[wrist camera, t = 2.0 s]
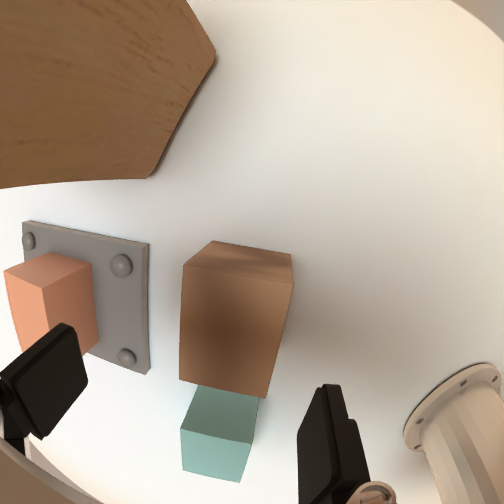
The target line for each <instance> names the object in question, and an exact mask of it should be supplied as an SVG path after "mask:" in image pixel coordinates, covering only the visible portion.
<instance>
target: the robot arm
mask: <svg viewBox="0 0 504 504" xmlns="http://www.w3.org/2000/svg"><path fill="white" fill-rule="evenodd" d="M0 377H1V379H0V504H103V503H100V502H98V501H96V500H94V499H92V498H90V497H88V496H86V495H84V494H83V493H80V492H79V491H77V490H75V489H74V488H72V487H70V486H68V485H67V484H65V483H63V482H61V481H60V480H58V479H57V478H55V477H54V476H52V475H51V474H49V473H48V472H46V471H45V470H43V469H42V468H40V467H39V466H37V465H36V464H35V463H33V462H32V461H31V454H30V446H29V436H28V435H29V434H30V432H31V433H32V434H33V435H34V436H35V437H37V438H38V439H40V440H41V441H42V439H43V438H44V437H46V436H48V435H49V434H50V433H51V431H52V430H53V429H54V427H55V426H56V425H57V423H58V422H59V421H60V420H61V418H62V417H63V416H64V414H65V413H66V412H67V410H68V409H69V408H70V407H71V405H72V404H73V403H74V402H75V400H76V399H77V398H78V397H79V395H80V394H81V393H82V392H83V390H84V389H85V388H86V386H87V384H88V378H87V374H86V370H85V367H84V363H83V359H82V354H81V350H80V345H79V341H78V336H77V333H76V332H75V329H74V327H72V326H70V325H67V324H65V323H63V322H61V323H59V324H58V325H56V326H55V327H54V328H52V329H51V330H50V331H49V332H47V333H46V334H45V335H44V336H43V337H41V338H40V339H39V340H38V341H36V342H35V343H34V344H33V345H32V346H30V347H29V348H28V349H27V350H26V351H24V352H23V353H22V354H21V355H20V356H18V357H17V358H16V359H15V360H14V361H13V362H12V363H10V364H9V365H8V366H7V367H6V368H5V369H4V370H2V371H1V372H0ZM500 386H501V376H500V373H499V372H498V370H497V369H496V368H495V367H494V366H493V365H490V364H478V365H475V366H472V367H469V368H467V369H465V370H463V371H461V372H459V373H458V374H456V375H454V376H453V377H451V378H450V379H448V380H447V381H446V382H444V383H443V384H441V385H440V386H439V387H438V388H437V389H435V390H434V391H433V392H432V393H431V394H430V395H429V396H428V397H427V398H426V399H425V400H424V401H423V402H422V403H421V404H420V405H419V406H418V407H417V408H416V410H415V411H414V413H413V414H412V415H411V417H410V418H409V420H408V422H407V424H406V426H405V429H404V440H405V443H406V445H407V447H408V448H409V449H411V450H413V451H419V452H421V451H424V452H425V454H426V457H427V459H428V462H429V465H430V468H431V470H432V473H433V476H434V479H435V482H436V485H437V488H438V491H439V494H440V497H441V500H442V504H504V402H503V400H502V399H501V398H500V396H499V395H498V392H499V389H500ZM297 457H298V496H299V504H397V503H396V494H395V492H394V490H393V489H392V488H391V487H390V486H389V485H387V484H386V483H383V482H379V481H372V482H371V480H370V476H369V471H368V467H367V462H366V458H365V454H364V450H363V446H362V442H361V438H360V434H359V430H358V426H357V423H356V421H355V420H354V419H349V418H348V414H347V410H346V406H345V402H344V398H343V394H342V390H341V387H340V385H334V384H323V386H322V388H320V387H318V388H317V389H316V391H315V394H314V396H313V399H312V401H311V403H310V406H309V408H308V410H307V413H306V415H305V417H304V419H303V421H302V424H301V426H300V428H299V430H298V433H297Z"/></svg>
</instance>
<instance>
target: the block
mask: <svg viewBox="0 0 504 504" xmlns="http://www.w3.org/2000/svg"><path fill="white" fill-rule="evenodd" d="M215 54H216V50H215V48H214V46H213V45H212V43H211V41H210V39H209V38H208V36H207V34H206V32H205V31H204V29H203V27H202V26H201V24H200V22H199V21H198V19H197V17H196V16H195V14H194V12H193V11H192V9H191V8H190V6H189V4H188V3H187V1H186V0H0V189H4V188H12V187H20V186H28V185H38V184H48V183H60V182H73V181H90V180H113V179H146V178H147V177H148V176H149V175H150V174H151V173H152V172H153V170H154V169H155V167H156V165H157V163H158V161H159V159H160V157H161V155H162V152H163V150H164V148H165V146H166V144H167V142H168V140H169V138H170V136H171V134H172V133H173V131H174V129H175V127H176V125H177V123H178V121H179V119H180V117H181V116H182V114H183V112H184V110H185V108H186V107H187V105H188V103H189V101H190V100H191V98H192V96H193V95H194V93H195V91H196V90H197V88H198V86H199V85H200V83H201V81H202V80H203V78H204V76H205V75H206V73H207V72H208V70H209V69H210V67H211V66H212V64H213V62H214V59H215Z"/></svg>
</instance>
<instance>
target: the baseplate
mask: <svg viewBox="0 0 504 504" xmlns="http://www.w3.org/2000/svg"><path fill="white" fill-rule="evenodd" d="M22 233H23V236H22V244H23V249H24V260H25V262H23V263H21V264H18V265H16V266H14V267H11V268H9V269H6V270H4V278H5V284H6V290H7V295H8V300H9V305H10V309H11V313H12V318H13V322H14V325H15V329H16V333H17V336H18V340H19V343H20V346H21V349H22V352H24V351H26V350H27V349H28V348H29V347H30V346H32V345H33V344H34V343H35V342H36V341H38V340H39V339H40V338H41V337H43V336H44V335H45V334H46V333H47V332H49V331H50V330H51V329H52V328H54V327H55V326H56V325H58V324H59V323H61V322H63V323H65V324H67V325H70V326H72V327H74V329H75V332H76V333H77V336H78V341H79V345H80V350H81V354H82V356H83V355H84V354H85V353H90V354H92V355H94V356H97V357H99V358H101V359H104V360H106V361H109V362H111V363H114V364H116V365H119V366H122V367H124V368H127V369H130V370H133V371H135V372H138V373H141V374H144V375H146V374H147V372H148V371H149V369H150V360H149V342H148V309H147V283H148V249H149V244H145V243H140V242H134V241H129V240H124V239H119V238H114V237H109V236H103V235H98V234H93V233H88V232H83V231H78V230H73V229H68V228H63V227H58V226H53V225H48V224H44V223H39V222H34V221H26V222H22Z"/></svg>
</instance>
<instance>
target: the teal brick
mask: <svg viewBox="0 0 504 504" xmlns="http://www.w3.org/2000/svg"><path fill="white" fill-rule="evenodd" d="M258 401H259V397H256V396H250V395H244V394H239V393H234V392H229V391H224V390H220V389H215V388H211V387H207V386H202V385H198V388H197V390H196V392H195V395H194V397H193V399H192V402H191V404H190V406H189V409H188V411H187V414H186V416H185V418H184V421H183V423H182V425H181V428H180V434H181V452H182V466H183V470H185V471H188V472H192V473H196V474H200V475H204V476H208V477H213V478H217V479H222V480H227V481H233V482H239V483H240V481H241V478H242V475H243V472H244V469H245V466H246V462H247V459H248V456H249V453H250V450H251V447H252V442H253V436H254V429H255V422H256V415H257V408H258Z"/></svg>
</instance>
